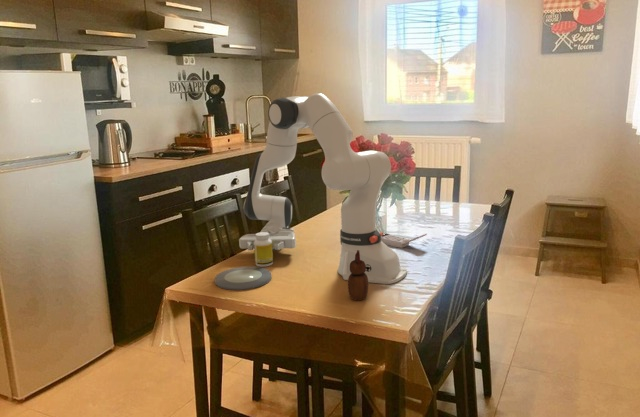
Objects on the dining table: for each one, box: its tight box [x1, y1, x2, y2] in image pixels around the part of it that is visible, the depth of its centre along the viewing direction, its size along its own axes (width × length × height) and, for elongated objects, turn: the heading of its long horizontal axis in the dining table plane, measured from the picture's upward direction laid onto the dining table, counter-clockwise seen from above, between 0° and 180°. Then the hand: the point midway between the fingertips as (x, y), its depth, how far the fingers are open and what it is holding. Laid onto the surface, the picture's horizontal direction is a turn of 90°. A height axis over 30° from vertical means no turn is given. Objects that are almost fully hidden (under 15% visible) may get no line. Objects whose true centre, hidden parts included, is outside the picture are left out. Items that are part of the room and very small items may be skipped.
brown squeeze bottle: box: [347, 250, 369, 301], centre depth 151 cm, size 7×6×15 cm
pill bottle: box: [253, 231, 274, 268], centre depth 184 cm, size 6×6×11 cm
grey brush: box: [381, 232, 428, 249], centre depth 202 cm, size 6×6×25 cm
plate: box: [214, 266, 272, 291], centre depth 171 cm, size 18×18×1 cm
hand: (263, 248), depth 184 cm, fingers open, 8 cm apart
